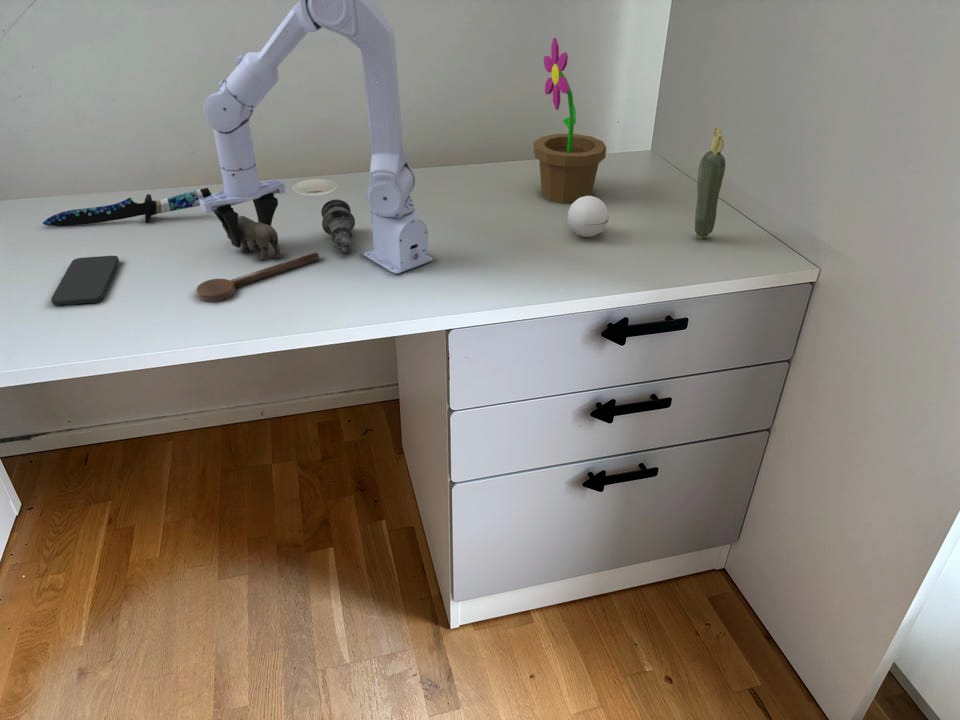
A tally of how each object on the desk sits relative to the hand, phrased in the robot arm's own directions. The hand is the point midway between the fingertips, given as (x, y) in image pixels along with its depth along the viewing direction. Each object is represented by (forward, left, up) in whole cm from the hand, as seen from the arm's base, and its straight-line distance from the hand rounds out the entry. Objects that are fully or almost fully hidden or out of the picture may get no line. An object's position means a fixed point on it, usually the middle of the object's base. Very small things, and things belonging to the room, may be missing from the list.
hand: (251, 241), depth 133 cm
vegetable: (-49, -63, -2) cm, 80 cm away
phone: (+6, +26, -2) cm, 27 cm away
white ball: (-35, -50, -2) cm, 61 cm away
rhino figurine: (0, 0, -2) cm, 2 cm away
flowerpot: (-18, -61, -2) cm, 64 cm away
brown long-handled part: (-11, +5, -2) cm, 12 cm away
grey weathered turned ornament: (-3, -16, +2) cm, 16 cm away
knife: (+26, +11, -2) cm, 28 cm away
